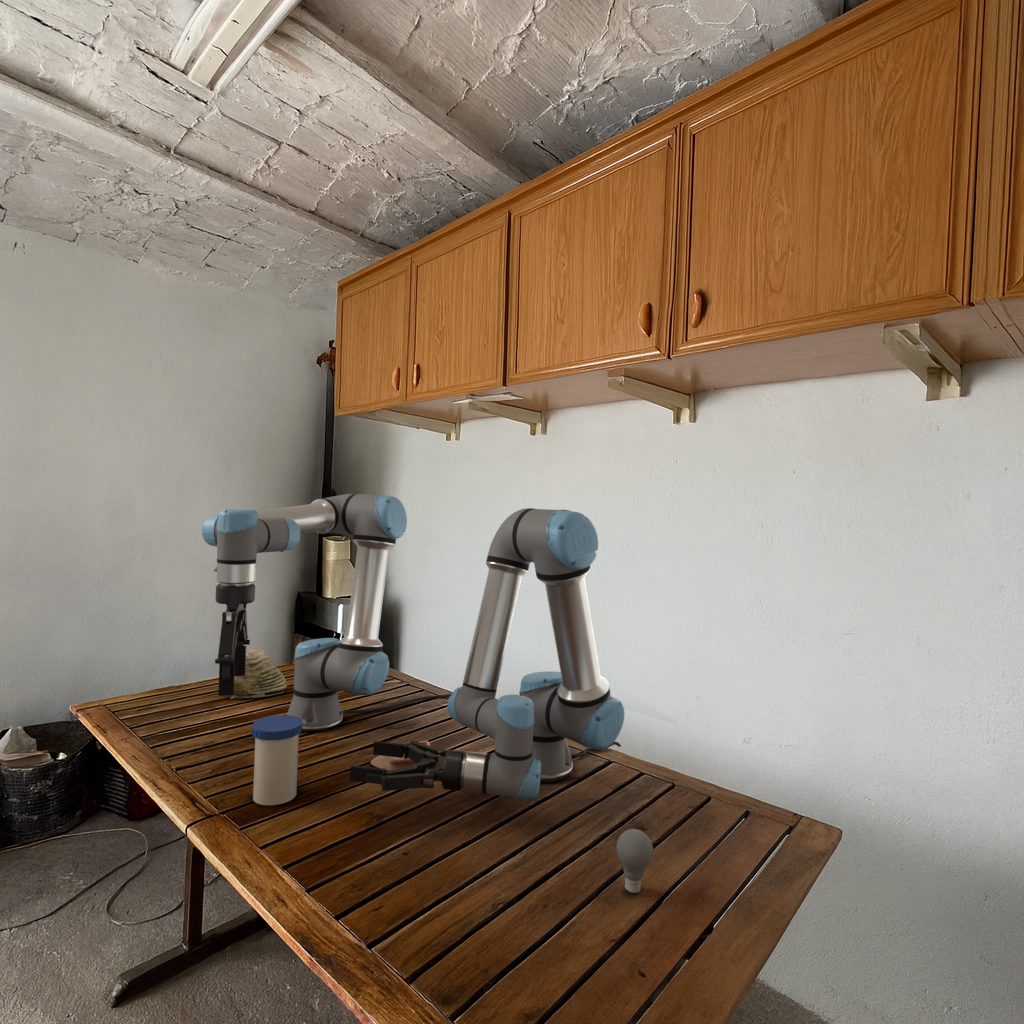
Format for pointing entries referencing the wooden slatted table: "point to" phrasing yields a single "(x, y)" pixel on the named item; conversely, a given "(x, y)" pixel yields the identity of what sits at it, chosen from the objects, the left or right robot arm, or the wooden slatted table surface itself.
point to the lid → (277, 727)
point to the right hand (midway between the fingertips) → (362, 759)
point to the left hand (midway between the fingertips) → (232, 685)
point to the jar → (275, 770)
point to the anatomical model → (394, 761)
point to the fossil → (259, 677)
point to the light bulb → (634, 857)
